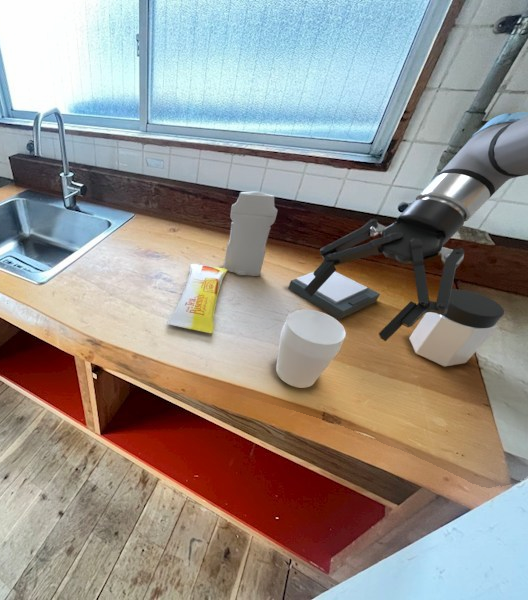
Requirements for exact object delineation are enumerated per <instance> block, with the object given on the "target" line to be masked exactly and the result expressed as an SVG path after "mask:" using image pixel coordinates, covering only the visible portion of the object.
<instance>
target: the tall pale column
mask: <svg viewBox="0 0 528 600" xmlns="http://www.w3.org/2000/svg"><path fill="white" fill-rule="evenodd" d="M278 210H279V209H278V208H276V206H275V195H274V194H268V193H265V192H262V191H241V192H239V195H238V198H237V200H236V202H235V203H233V204H231V208H230V213H229V214H230V216H229V217H230V219H231V222H230V232H229V238H228V239H229V241H228V243H227V244H226V249H225V255H224V260H223V262H224V263H223V267H222V268H225V269H227V272H230V273H234V274H236V275H238V276H250V277H251V276H253V277H258V276H260V275H261V271H262V269H263V265H264V260H265V255H266V245H267V242H268V238H269V234H270V232H271V231H270V230H271V226H272V225H274V224H275V221H276V218H277V215H278Z"/></svg>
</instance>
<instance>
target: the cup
mask: <svg viewBox="0 0 528 600" xmlns="http://www.w3.org/2000/svg"><path fill="white" fill-rule="evenodd" d="M346 335H347V334H346V329H345V327H344V325H343V323H341V322H340V321H339V320H337V319H336V317H334V316H333V315H331V314H329V313H325V312H323V311H319V310H315V309H309V308H308V309H307V308H302V309H301V308H300V309H295V310H293V311H291V312H290V313H289V314H287V316H286V319H285V321H284V323H283V325H282V327H281V329H280V336H279V343H278V351H277V359H276V365H275V372H276V375H277V376H278V377H279V379H280V380H282V381H283V382H284V383H286V384H287V385H289V386H291V387H294V388H300V389H306V388H309V387H312V386H313V385H314V384H315V383H316V382H317V380H318V379H319V377H320V376H321V375H322V374H323V373H324V372H325V370H326V369H327V368H328V366H329V365H330V364H331V363H332V361H334V359H335V358H336V357H337V355H338V354H339V352H340V350H341V348H342V345H343V343H344V340H345V338H346Z"/></svg>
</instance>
